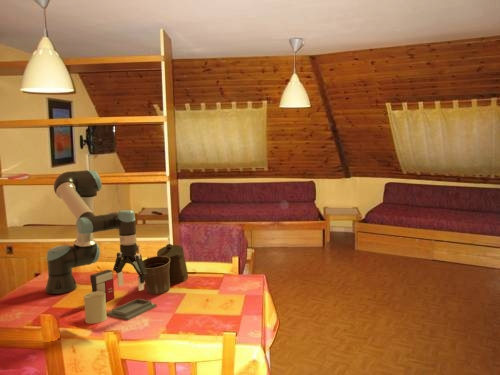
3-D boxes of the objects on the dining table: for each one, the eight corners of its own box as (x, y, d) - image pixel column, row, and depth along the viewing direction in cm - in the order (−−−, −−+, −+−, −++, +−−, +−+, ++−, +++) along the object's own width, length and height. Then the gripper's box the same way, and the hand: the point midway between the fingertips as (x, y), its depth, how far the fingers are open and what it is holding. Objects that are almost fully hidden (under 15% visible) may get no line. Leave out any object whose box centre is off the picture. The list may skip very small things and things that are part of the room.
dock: (106, 314, 192) (106, 309, 192) (135, 301, 207) (135, 297, 207) (128, 320, 185) (127, 314, 185) (156, 306, 200) (156, 301, 200)
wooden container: (184, 269, 246) (178, 236, 239) (191, 281, 233) (185, 246, 226) (159, 277, 241) (152, 243, 234) (165, 289, 228) (158, 253, 221)
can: (88, 316, 191) (87, 290, 190) (109, 314, 192) (107, 289, 191) (82, 324, 182) (80, 297, 181) (104, 323, 183) (102, 296, 182)
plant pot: (144, 299, 212) (139, 270, 209) (141, 286, 227) (137, 259, 224) (175, 293, 217) (172, 264, 213) (171, 280, 232) (168, 253, 228)
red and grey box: (97, 306, 203) (95, 276, 202) (92, 304, 206) (90, 275, 204) (115, 298, 213) (113, 270, 211) (109, 297, 215) (108, 269, 214)
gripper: (103, 242, 197) (106, 286, 198) (141, 247, 184) (144, 294, 186) (116, 239, 203) (118, 281, 205) (153, 244, 190) (156, 289, 192)
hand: (130, 287), depth 195 cm, fingers open, 13 cm apart
